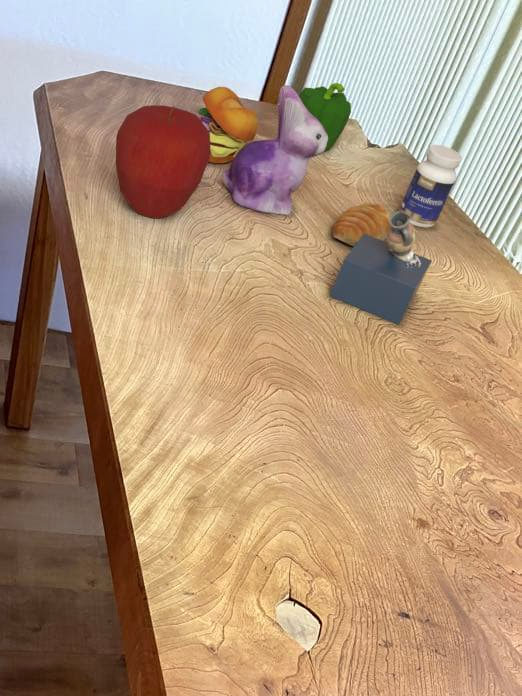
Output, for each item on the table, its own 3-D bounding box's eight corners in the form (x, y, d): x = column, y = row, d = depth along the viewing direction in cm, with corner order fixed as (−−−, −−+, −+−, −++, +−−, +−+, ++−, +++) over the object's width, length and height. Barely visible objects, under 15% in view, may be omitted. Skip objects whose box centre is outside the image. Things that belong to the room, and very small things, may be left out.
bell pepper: (281, 130, 147) (301, 65, 140) (327, 137, 148) (349, 74, 141) (293, 152, 141) (315, 85, 134) (341, 159, 142) (365, 94, 136)
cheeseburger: (173, 129, 138) (205, 66, 131) (234, 162, 140) (268, 102, 133) (167, 153, 130) (200, 87, 124) (232, 187, 132) (267, 124, 126)
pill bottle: (398, 222, 129) (427, 154, 122) (395, 206, 133) (424, 139, 126) (436, 232, 129) (468, 164, 122) (433, 216, 133) (463, 149, 126)
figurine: (309, 215, 125) (348, 104, 114) (249, 218, 121) (284, 103, 110) (273, 184, 130) (307, 75, 120) (214, 186, 126) (244, 73, 115)
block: (349, 269, 115) (364, 233, 112) (415, 296, 114) (432, 260, 110) (329, 296, 109) (344, 258, 106) (398, 324, 107) (416, 287, 104)
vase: (387, 272, 105) (407, 225, 101) (359, 249, 108) (378, 202, 104) (420, 269, 108) (442, 222, 103) (392, 246, 111) (412, 200, 106)
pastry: (359, 256, 119) (370, 229, 116) (317, 234, 121) (327, 207, 118) (391, 239, 124) (402, 213, 122) (350, 218, 127) (360, 192, 124)
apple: (175, 190, 122) (200, 89, 113) (207, 233, 115) (236, 128, 106) (93, 187, 118) (111, 81, 109) (120, 231, 111) (142, 121, 102)
